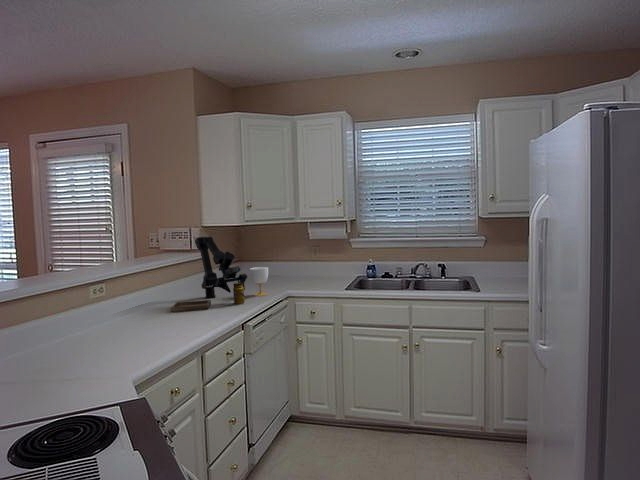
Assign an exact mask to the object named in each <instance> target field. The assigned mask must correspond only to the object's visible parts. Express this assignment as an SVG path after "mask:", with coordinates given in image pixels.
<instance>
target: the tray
mask: <svg viewBox="0 0 640 480" xmlns="http://www.w3.org/2000/svg"><path fill="white" fill-rule="evenodd" d="M211 305H212V300H211V299H204V300H193V301H192V300H191V301H180V302H176V303H174V304H173V305H172V306H170V313H171V312H173V313H181V312H183V313H184V311H185V312H193V311H195V312H196V311H208V310H209V309H210V306H211Z"/></svg>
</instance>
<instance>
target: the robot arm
mask: <svg viewBox="0 0 640 480" xmlns="http://www.w3.org/2000/svg"><path fill="white" fill-rule="evenodd" d="M194 243H195V247H196V249H198V251H199V252H200V256H201V261H202V265H203V270H204V271H203V272H204V275H203V281H202V283H201V289H203V290H205V291H204V292H205V297H204V299H215V298H216V297H217V295H216V292H215V291H216V290H215V288H219V289H223V290H224V291H226V292H228V293H229V294H230V293H231V292H232V291H231V288H230V287H229V285H228V283H233V282H237V283H243V288H244V291H245V290H246V286H245V283H246V281H247V278H248V275H247V274H246V273H239V272H240V271H241V267H240V265H236V266H232V265H233V263H234V260H235V257H236V256H235V255H234V254H233V253H232V252H230V251H225V252H224V251H221V250H220V249H219V247H218V246H217V244H216V243H215V241H214V238H213V236H197V237H196V239H195V240H194ZM209 251H210V252H209ZM210 253H211V255H212V260H213V262H214V264H215V265H219V267H218V271H221V273H222V277H221V276H220V277H217V273H216V272H214V271H213V268H212V266H213V265H212V263H211V259H210V258H211V257H210ZM231 266H232V267H231ZM238 273H239V275H238ZM237 275H238V276H237ZM236 276H237V277H236Z"/></svg>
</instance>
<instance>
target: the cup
mask: <svg viewBox="0 0 640 480" xmlns="http://www.w3.org/2000/svg"><path fill="white" fill-rule="evenodd" d="M249 272H250V273H249V274H250V279H251V281H252V282H253V284H255V285H258V286H259V293H254V294H253V296H255V297H264V296H267V294H268V292H262V285H263V284H265V283H266V282H267V281H268V278H269V267H268V266H257V267H256V266H255V267H252V268H251V267H250V268H249Z"/></svg>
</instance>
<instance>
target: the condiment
mask: <svg viewBox="0 0 640 480" xmlns="http://www.w3.org/2000/svg"><path fill="white" fill-rule="evenodd" d="M232 291H233V302H229V303H228V305H230V306H233V307H234V306H239V305H246V304H247V303H248V302H245V290H244V288H243V283H238V282H235V283H233V289H232Z"/></svg>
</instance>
